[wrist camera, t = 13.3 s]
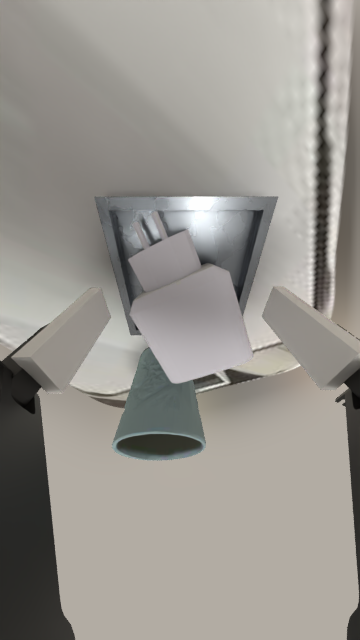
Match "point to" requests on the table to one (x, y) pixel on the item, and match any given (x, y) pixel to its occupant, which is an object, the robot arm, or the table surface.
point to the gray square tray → (205, 230)
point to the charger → (187, 309)
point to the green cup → (159, 416)
